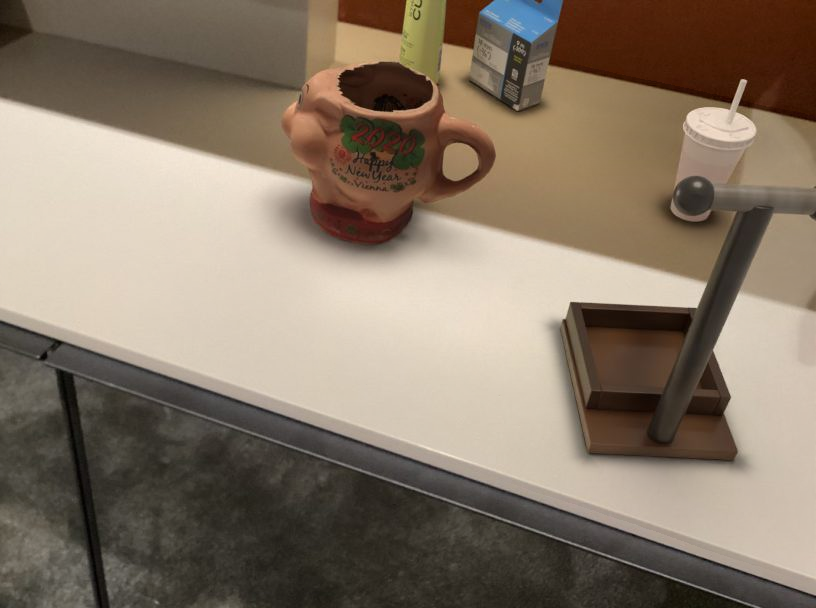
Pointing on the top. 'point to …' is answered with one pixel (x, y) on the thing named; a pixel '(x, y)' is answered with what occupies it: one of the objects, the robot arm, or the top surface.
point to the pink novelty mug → (377, 147)
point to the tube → (423, 36)
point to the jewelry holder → (671, 341)
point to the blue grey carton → (514, 49)
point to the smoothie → (713, 145)
